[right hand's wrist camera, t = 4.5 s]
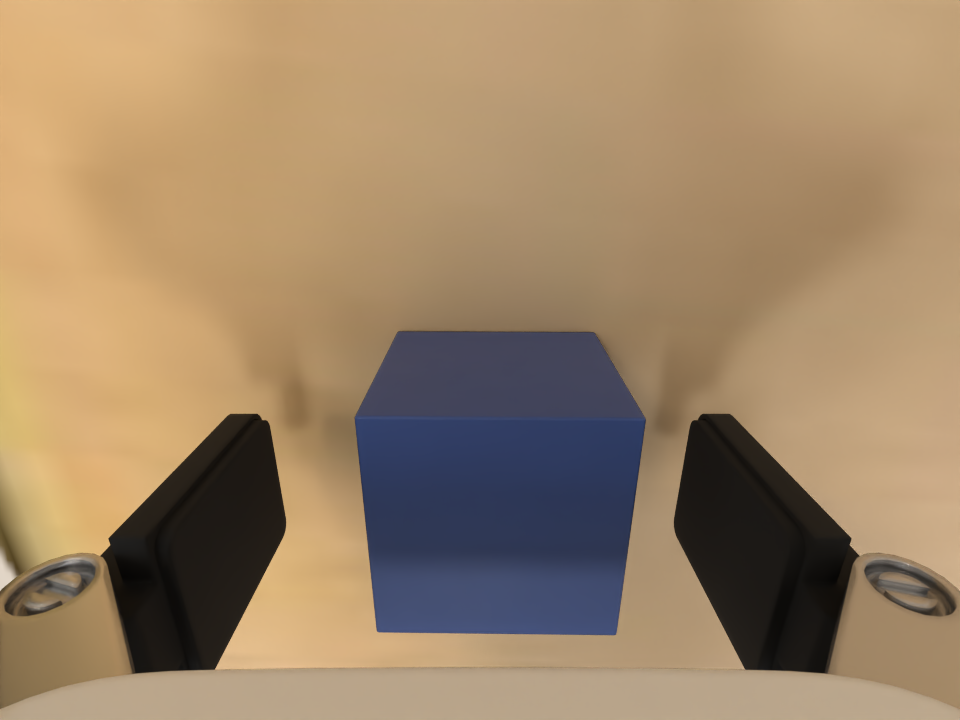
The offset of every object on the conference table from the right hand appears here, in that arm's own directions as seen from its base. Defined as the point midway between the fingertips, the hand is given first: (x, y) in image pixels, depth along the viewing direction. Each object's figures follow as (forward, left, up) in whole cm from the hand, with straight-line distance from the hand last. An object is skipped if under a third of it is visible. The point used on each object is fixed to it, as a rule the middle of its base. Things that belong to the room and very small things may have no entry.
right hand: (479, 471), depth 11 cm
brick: (0, 0, -2) cm, 2 cm away
